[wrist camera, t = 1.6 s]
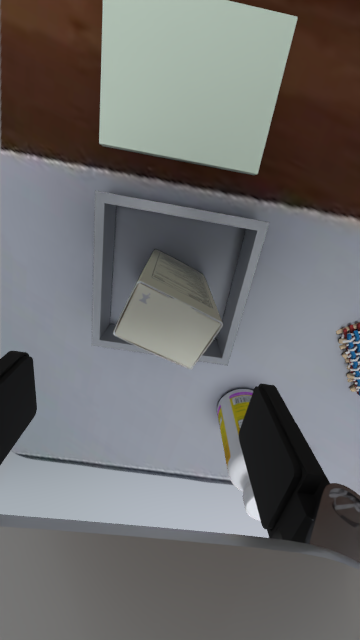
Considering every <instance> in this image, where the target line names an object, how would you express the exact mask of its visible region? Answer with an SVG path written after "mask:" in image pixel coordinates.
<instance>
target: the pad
mask: <svg viewBox="0 0 360 640" xmlns="http://www.w3.org/2000/svg"><path fill="white" fill-rule="evenodd" d="M297 18H298V17H296V16H292V15H288V14H283V13H279V12H275V11H271V10H266V9H262V8H258V7H253V6H249V5H245V4H241V3H236V2H232V1H228V0H103V18H102V56H101V94H100V131H99V144H101V145H102V146H105V147H110V148H115V149H120V150H126V151H131V152H136V153H141V154H146V155H151V156H157V157H162V158H167V159H172V160H177V161H183V162H188V163H193V164H198V165H203V166H208V167H214V168H219V169H224V170H229V171H234V172H239V173H245V174H250V175H257V174H258V171H259V167H260V163H261V159H262V155H263V151H264V147H265V143H266V139H267V135H268V132H269V128H270V124H271V120H272V116H273V112H274V108H275V104H276V100H277V96H278V92H279V89H280V85H281V81H282V77H283V73H284V69H285V65H286V61H287V57H288V53H289V49H290V45H291V42H292V38H293V34H294V30H295V26H296V22H297Z"/></svg>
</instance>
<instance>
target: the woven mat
mask: <svg viewBox="0 0 360 640" xmlns="http://www.w3.org/2000/svg"><path fill="white" fill-rule="evenodd" d="M354 329H358V331H357V330H354ZM347 331H350V332H351V333H348V332H347ZM336 333H337V334H340V333H343V334H342V338H341V339H339V343H342V344H343V345H341V346H339V347H340V349H344V348H347V351H345V352H344V353H343V354H342V356H343V357H344V358H345V360H346V363H349V362H350V363H349V365H348V366H347V369H348V370H349V369H350V372H351V373H348V374H347V378H350V379H347V380H348V382H352V381H354V383H355V384H354V385H353V386H351V387H350V390H351V391H352V392H354V391H357V394H359V395H360V322H358V323H356V324H353V325H349V326H348V327H345V328H342V329H340V330H338V331H336ZM357 367H358V368H357Z"/></svg>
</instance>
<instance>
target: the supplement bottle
mask: <svg viewBox="0 0 360 640" xmlns="http://www.w3.org/2000/svg"><path fill="white" fill-rule="evenodd" d="M252 394H253V391H252V390H249V389H237V390H233V391H231V392H229V393H227V394H226V395H225V396H223V397H222V399H221V400H220V402H219V404H218V407H217V413H218V419H219V425H220V430H221V436H222V441H223V447H224V452H225V458H226V464H227V469H228V474H229V477H230V480H231V482H232V483H233V484H234V486H235V487H236V488H237V489H239V490H240V491H243V501H244V505H245V509H246V512H247V514H248V515H249V516H250V517H252V518H253V519H256V520H259V521H261V520H260V516H259V513H258V509H257V505H256V501H255V498H254V494H253V490H252V486H251V483H250V479H249V475H248V472H247V468H246V464H245V460H244V457H243V453H242V449H241V446H240V442H239V430H240V428H241V425H242V422H243V419H244V416H245V414H246V411H247V408H248V405H249V402H250V399H251V397H252Z"/></svg>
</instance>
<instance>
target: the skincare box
mask: <svg viewBox="0 0 360 640" xmlns="http://www.w3.org/2000/svg"><path fill="white" fill-rule="evenodd" d="M222 327H223V323H222V320H221V318H220V315H219V312H218V310H217V307H216V305H215V302H214V300H213V297H212V295H211V292H210V290H209V287H208V284H207V282H206V279H205V277H204V275H203V274H201V273H199V272H198V271H196V270H194V269H193V268H191V267H189V266H187V265H185V264H184V263H182V262H180V261H178V260H176V259H174V258H172V257H171V256H169V255H167V254H165V253H163V252H161V251H159V250H157V249H154V251H153V253H152V255H151V256H150V258H149V260H148V262H147V264H146V266H145V268H144V269H143V271H142V273H141V275H140V277H139V279H138V281H137V283H136V285H135V287H134V289H133V291H132V293H131V295H130V297H129V299H128V301H127V303H126V305H125V307H124V309H123V311H122V313H121V315H120V318H119V320H118V322H117V324H116V327H115V329H114V331H113V334H114V335H115V336H116V337H119V338H120V339H122V340H124V341H126V342H128V343H130V344H133V345H135V346H137V347H139V348H141V349H143V350H146V351H148V352H150V353H152V354H155V355H157V356H159V357H162V358H164V359H167V360H169V361H171V362H174V363H176V364H178V365H181V366H183V367H186V368H188V369H192V368H193V367H194V365H195V364H196V362H197V361H198V360H199V359H200V357H201V356H202V355H203V353H204V352H205V351H206V349H207V348H208V346H209V345H210V344H211V342H212V341H213V340H214V338H215V337H216V335H217V334H218V333H219V331H220V330H221V328H222Z"/></svg>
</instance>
